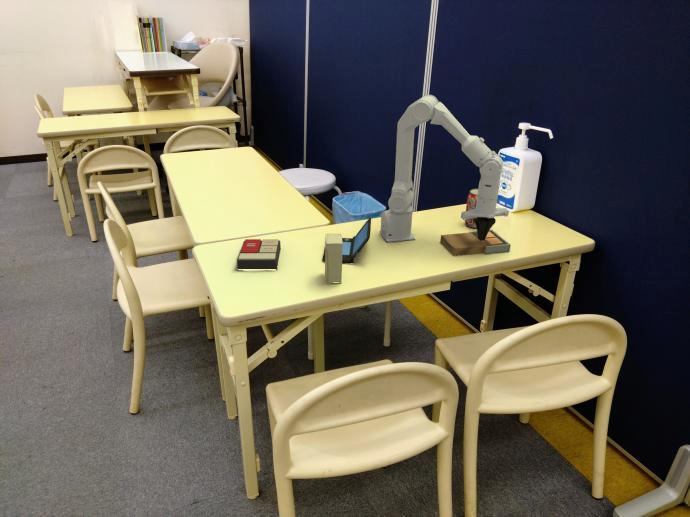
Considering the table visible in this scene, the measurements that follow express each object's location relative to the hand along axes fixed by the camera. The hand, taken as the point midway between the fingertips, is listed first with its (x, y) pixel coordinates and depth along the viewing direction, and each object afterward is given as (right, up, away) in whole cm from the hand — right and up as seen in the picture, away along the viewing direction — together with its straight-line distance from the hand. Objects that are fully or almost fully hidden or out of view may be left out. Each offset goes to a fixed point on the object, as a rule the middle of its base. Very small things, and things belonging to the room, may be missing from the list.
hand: (481, 239), depth 159 cm
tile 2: (+4, 0, +1) cm, 4 cm away
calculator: (-66, -6, -6) cm, 67 cm away
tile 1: (+3, +2, +6) cm, 7 cm away
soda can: (+3, +5, +18) cm, 19 cm away
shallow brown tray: (-5, -2, +2) cm, 6 cm away
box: (+3, -2, +4) cm, 6 cm away
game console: (-41, -4, -1) cm, 41 cm away
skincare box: (-45, -11, -16) cm, 49 cm away
